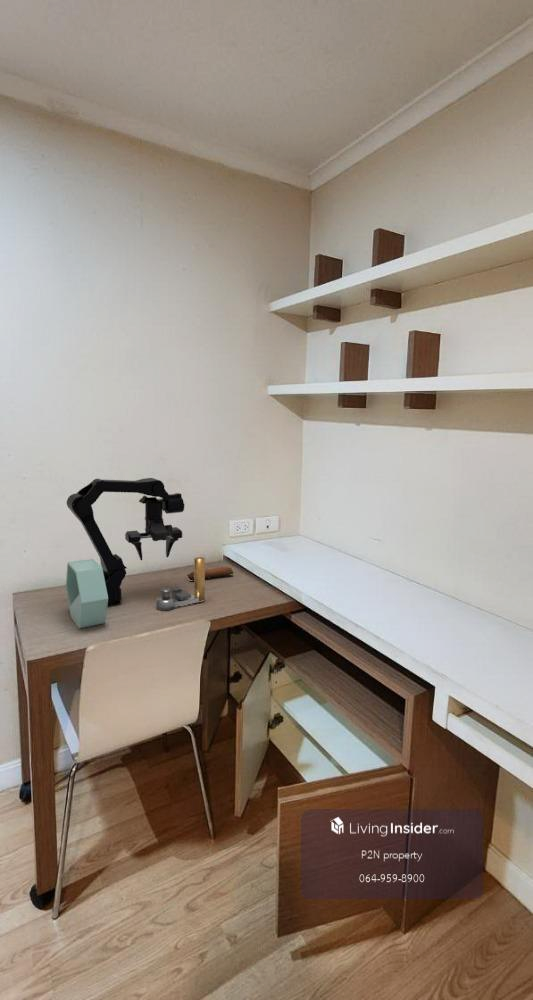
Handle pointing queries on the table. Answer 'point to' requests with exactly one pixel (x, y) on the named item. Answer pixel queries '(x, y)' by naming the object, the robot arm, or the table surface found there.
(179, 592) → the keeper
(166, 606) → the link
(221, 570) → the sunglasses case
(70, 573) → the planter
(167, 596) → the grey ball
